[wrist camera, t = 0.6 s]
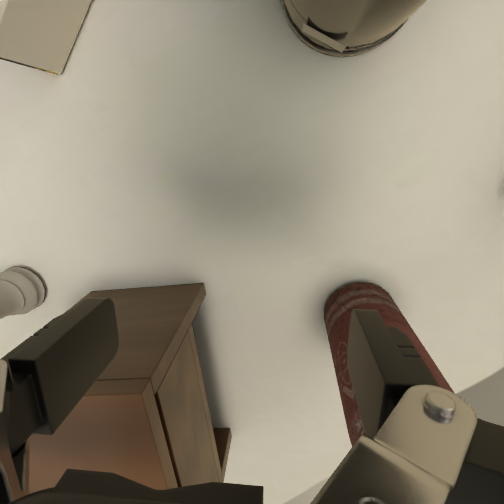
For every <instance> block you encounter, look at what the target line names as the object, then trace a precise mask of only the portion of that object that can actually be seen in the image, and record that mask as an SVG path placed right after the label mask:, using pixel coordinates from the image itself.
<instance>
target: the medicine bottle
mask: <svg viewBox="0 0 504 504" xmlns="http://www.w3.org/2000/svg"><path fill="white" fill-rule="evenodd" d="M91 1H92V0H0V59H3V60H6V61H10V62H14V63H17V64H21V65H25V66H28V67H32V68H36V69H39V70H43V71H47V72H50V73H54V74H61V73H62V71H63V68H64V66H65V64H66V61H67V59H68V56H69V54H70V52H71V49H72V47H73V44H74V42H75V39H76V37H77V35H78V32H79V30H80V27H81V25H82V23H83V20H84V18H85V15H86V13H87V10H88V8H89V6H90V3H91Z"/></svg>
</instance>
